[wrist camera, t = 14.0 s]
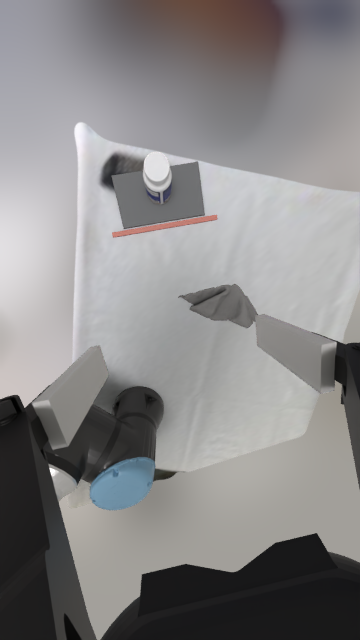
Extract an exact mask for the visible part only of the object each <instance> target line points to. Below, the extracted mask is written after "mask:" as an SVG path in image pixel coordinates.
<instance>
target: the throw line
mask: <svg viewBox="0 0 360 640" xmlns="http://www.w3.org/2000/svg"><path fill="white" fill-rule="evenodd" d="M212 220H217V215H212V216H207V217H201V218H195V219H189V220H183V221H177V222H172V223H166V224H160V225H154V226H148V227H142V228H137V229H131V230H125V231H119V232H113V233H112V235H113V237H119V236H125V235H131V234H137V233H142V232H148V231H154V230H160V229H166V228H171V227H177V226H183V225H189V224H195V223H200V222H206V221H212Z"/></svg>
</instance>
